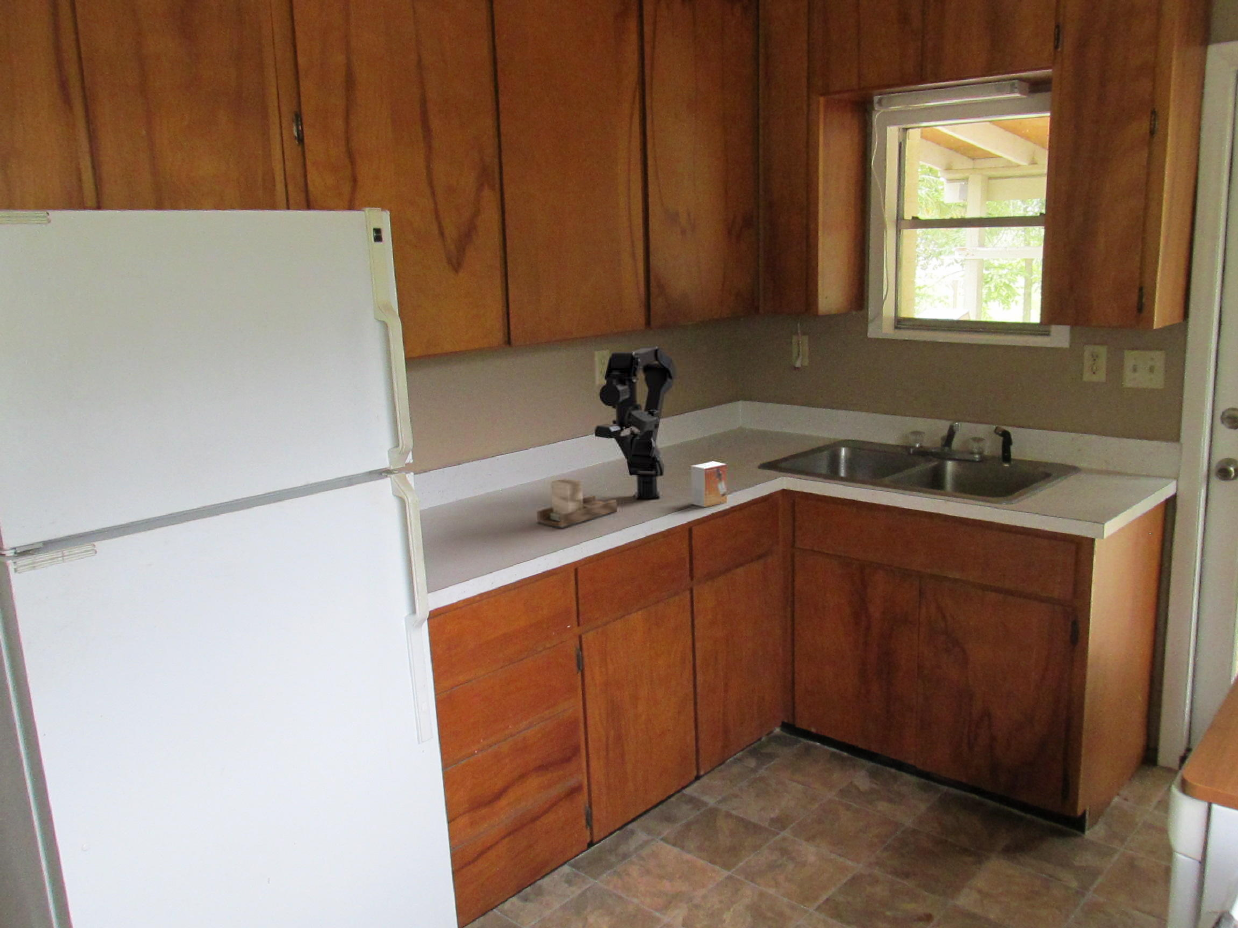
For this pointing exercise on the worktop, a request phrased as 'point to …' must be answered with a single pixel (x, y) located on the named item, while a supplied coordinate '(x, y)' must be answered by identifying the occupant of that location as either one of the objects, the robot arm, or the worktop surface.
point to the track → (577, 513)
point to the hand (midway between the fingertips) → (628, 459)
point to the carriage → (566, 496)
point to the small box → (709, 484)
